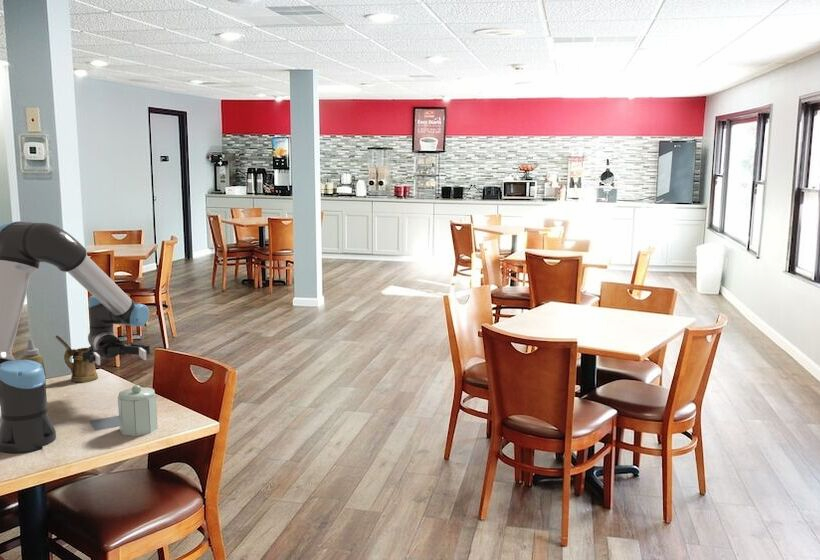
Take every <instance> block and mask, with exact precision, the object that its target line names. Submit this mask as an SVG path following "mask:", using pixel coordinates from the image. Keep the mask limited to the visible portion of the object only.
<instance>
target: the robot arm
mask: <svg viewBox="0 0 820 560" xmlns="http://www.w3.org/2000/svg"><path fill="white" fill-rule="evenodd" d="M40 263H46V264H50V265H52V266H55V267H56V268H57V269H58V270H59V271H61V272H62V273H67V274H69V275H70V276H71V277H72V278H74V279H75V281H76V282H78V283H79V284H80V285H81V286H82V287H83V288H84V289H85V290H86V291H87V292H89V293H90V294H91V296H89V298H88V307H87V308H88V316H89V317H88V318H89V319H88V320H89V333H88V336H87V341H88V344H89V345H90V346H88V348H89V349H87V350H86V351H84V352H83V353H82V357H83V361H86V360H88V359H89V363H93V361H94V364H96V365H97V366H101V357H102V358H105V359H115V358H116V357H118V356H119V355H121V356H125V355H127V354H128V355H134V356H135V355H136V356H137V355H138V356H139V358H141V359H142V360H144V361H147V356H148V355H150V354H151V353H150V352H151V349H150V348H151V347H150V345H145V344H141V343H140V344H138V343H135V342H129V343H128V344H126V343H122V341H121V340H120V339H119V338H118V337H117V336H116V335H115V334H114V325H121V326H131V327H143V326H144V325H146V324H147V323H148V322H149V321H148V320H149V318H150V310H149V308H148V307H149V306H147V305H145V304H142V303H136V302H135V301H134V300H133V299H132V298H130V296H129V295H127V293H126V292H124V290H122V288H120V286H118V284H117V283H115V281H114V280H113V279H112V278H111V277H109V275H108V274H107V273H106V272H104V271H103V269H102V268H100V266H99V265H98V264H96V262H94V261H93V259H91V257H90V256H88V250H87V248H86V247H84V245H82V243H80V242H79V241H78V240H77V239H76V238H74V237H73V235H71V234H70V233H68V232H67V231H65V230H64V229H62V228H60V227H59V226H57V225H55V224H51V223H48V222H31V221H13V222H11V221H10V222H5V223H3V224H2V225H0V417H1V422H0V452H2V453H10V454H14V453H15V454H17V453H18V454H19V453H27V452H32V451H36V450H37V451H38V450H40V449H43V447H46V446H47V445H50V444H52V443H54V441H55V440H57V439H56V438H57V433H56V428H55V426H54V425H53V422H52V420H51V419H50V416H49V414H48V401H47V385H46V384H47V383H46V381H47V376H46V377H45V375H44V369H43V366H42V365H41V364H40V363H38V362H35V361H31V360H22V359H16V357H15V356H14V355H13V353H12V352H13V348H14V344H15V340H16V336H17V332H18V328H19V325H20V320H21V315H22V312H23V308H24V305H25V300H26V297H27V292H28V289H29V284H30V280H31V276H32V275H33V274H34V273H36V272H38V271H39V269H40V268H39V267H40ZM45 379H46V381H45Z"/></svg>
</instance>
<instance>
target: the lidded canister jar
mask: <svg viewBox="0 0 820 560" xmlns="http://www.w3.org/2000/svg"><path fill="white" fill-rule="evenodd" d="M117 408H118V416H119V426H118V427H119V432H120V433H121V435H123V436H131V437H132V436H133V437H136V436H141V435H147V434H151V433H153V432H155V431H156V430H157V429H159V426H158V414H157V413H158V412H157V411H158V407H157V394H156V392H155V389H154V388H153V387H146V386H145V387H141V385H139V384H134V385H133V386H132V387H131V388H127V389H124V390H122V391H120V392H119V393H118V396H117Z"/></svg>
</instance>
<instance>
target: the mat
mask: <svg viewBox="0 0 820 560" xmlns="http://www.w3.org/2000/svg"><path fill="white" fill-rule="evenodd" d="M88 422H89V424H90V425H91V426H92V428H93V430H94V431H102V430H107V429H112V428H119V427H120V426H119V415H114V416H109V417H104V418H103V417H102V418H97V419H94V420H93V419H91V420H88Z"/></svg>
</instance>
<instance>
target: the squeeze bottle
mask: <svg viewBox="0 0 820 560" xmlns="http://www.w3.org/2000/svg"><path fill="white" fill-rule="evenodd" d="M34 343H35V342H34V340H33V339H32V338H29V339H28V341H27V347H26V348H25V349H24V350H23V356H22V357H21V360H31V361H35V362H38V363H40V364H41V365H42V366H43V369H44V375H45V377H46V379H45V381H47V374H46V369H45V363H44V358H43V355H42V354H40V349H39V348H37V347H36V346H35V344H34Z"/></svg>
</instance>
